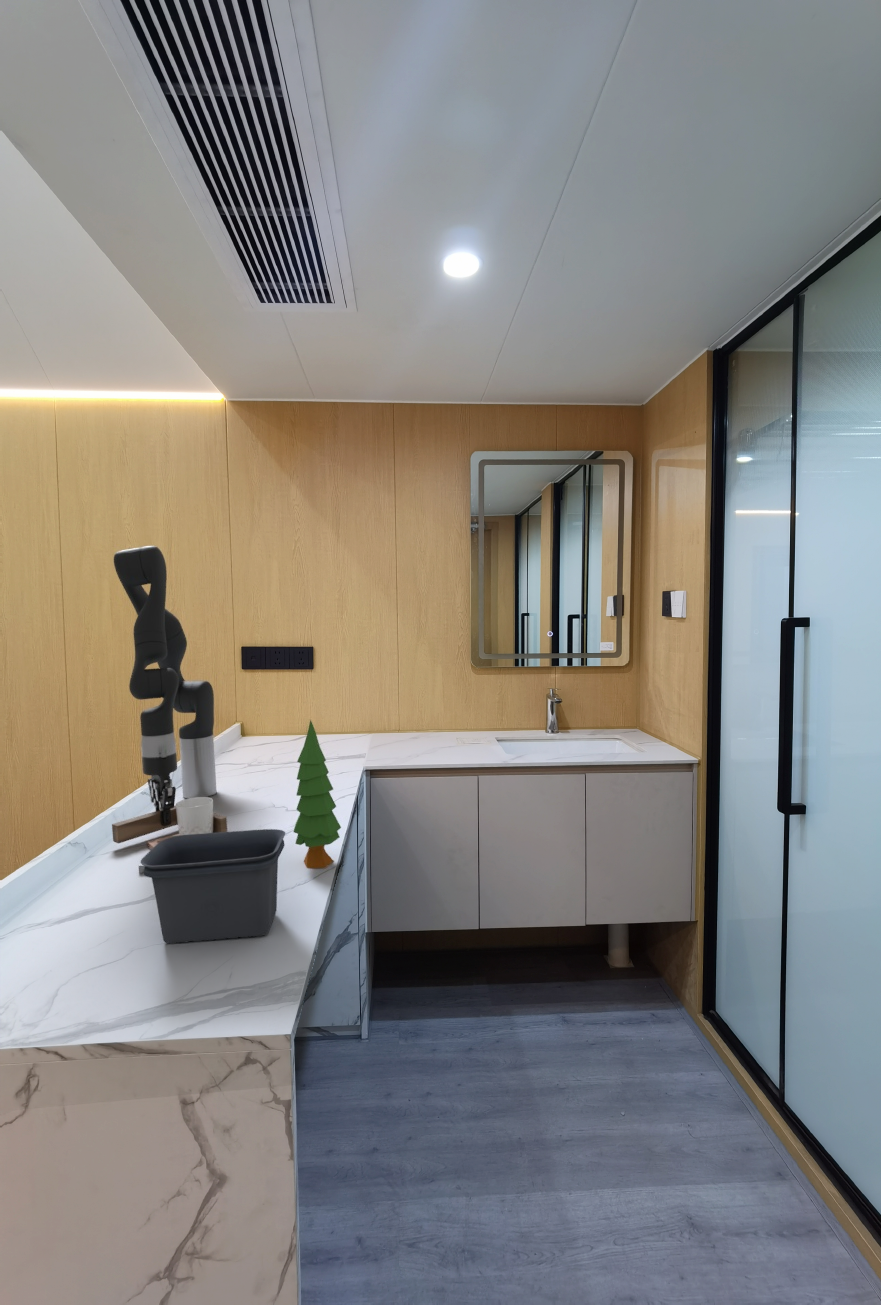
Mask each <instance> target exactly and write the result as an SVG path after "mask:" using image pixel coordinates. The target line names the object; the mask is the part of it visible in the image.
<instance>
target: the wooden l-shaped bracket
mask: <svg viewBox="0 0 881 1305" xmlns="http://www.w3.org/2000/svg"><path fill="white" fill-rule="evenodd" d="M170 810H171V824H170V825H167V826H162V825H161V818H160V810H158V811H156V810H154V811H153V812H149V813H145V814H142V815H138V816H135V817H132V818H128V819H125V820H121V821H118V822H115V823H111V827H112V828H111V829H112V830H111V832H112V841H113V842H114V843H116V844H121V843H124V842H127V841H130V840H134V839H137V838H140V837H142V836H147V835H149V834H152V833H155V832H159V831H162V830H165V829H168V828H170V827H175V826H178V822H177V813H176V804H174V808H172V809H170ZM227 820H228V819H227V816H224V815H221V814H217V813H214V812H213V832H212V833H218V832H228V821H227Z"/></svg>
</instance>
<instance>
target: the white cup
mask: <svg viewBox="0 0 881 1305" xmlns="http://www.w3.org/2000/svg"><path fill="white" fill-rule="evenodd" d="M175 805H176V813H177V822H178V825H177V827H178V834H179V835H190V834H205V833H212V832H213V813H214V800H213V798H212V797H210V796H208V797H195V798H185V799H183V800H180V801H178V802H175Z"/></svg>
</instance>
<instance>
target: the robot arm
mask: <svg viewBox="0 0 881 1305" xmlns="http://www.w3.org/2000/svg"><path fill="white" fill-rule="evenodd" d="M113 565H114V569H115V572H116V575H117V578H118V580H119V582H120V583H121V585H122V587H123V590H124V591H125V593H126V595H127V597H128V598H129V600H130V602H131V605H132V606H133V608H134V610H135V613H136V616H137V617H136V620H135V622H134V625H133V643H134V662H133V668H132V671H131V675H130V680H129V684H128V686H129V692H130V693H131V696H132V697H133V698H135V699H137V700H150V699H151V700H153V699H161V698H162V699H163V700H162V702H160V704H158V705H157V706H154V707H150V708H146V709H144V710H142V712H141V713H140V717H139V718H140V733H141V740H140V749H141V750H140V751H141V764H142V774H144V775H145V776H151V778H147V785H148V790H149V795H150V801H151V803H152V804H153V806H154V808H155V811H158V810H160V818H161V825H162V826H167V825H170V824H171V810H170V809H172V808H174V806H175V803H176V802H175V801H176V792H177V789H176V787H175V786H173V780H172V778H171V775H170V774H171V773H174V772H176V771H177V769H178V758H177V757H178V756H177V755H178V754H177V744H176V743H177V741H176V738H175V729H174V711H176V712H177V713H181V714H195V717H194V718H195V719H194V720H193V721H191V722H190V723H188V724H184V725H182V726H181V727H179V729H178V737H179V738H178V739H179V752H180V754H179V755H180V766H181V768H180V769H181V770H180V771H181V786H182V789H181V790H182V797H183V798H185V799H189V798H195V797H212V796H213V795H215V794H216V793H217V775H216V758H215V757H216V754H215V742H214V724H215V698H214V697H215V696H214V695H215V694H214V690H213V685H212V684H211V682H209V681H207V680H185V679H184V677H183V674H182V669H181V667H182V666H181V665H182V663H183V662H182V661H183V659H184V657H185V654H186V651H187V646H188V641H187V637H186V633H185V632H184V630H183V627H182V624H181V622H180V620H179V619H178V617H176V616H175V614H173V613H172V612H170V611H169V610H168V609H167V608H166V600H167V599H166V598H167V576H168V575H167V573H168V572H167V564H166V559H165V557H164V554H163V552H162V550H160V548H159V547H158V546H155V545H146V546H142V547H141V546H140V547H133V548H130V549H129V548H128V549H122V550H118V551H117V552H116V553H114V555H113ZM144 585H145V586H146V585H150V587H149V592H148V593H147V591H146V590H145V588H144ZM156 663H157V665H158V668H147V667H148V666H149V665H152V664H156Z"/></svg>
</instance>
